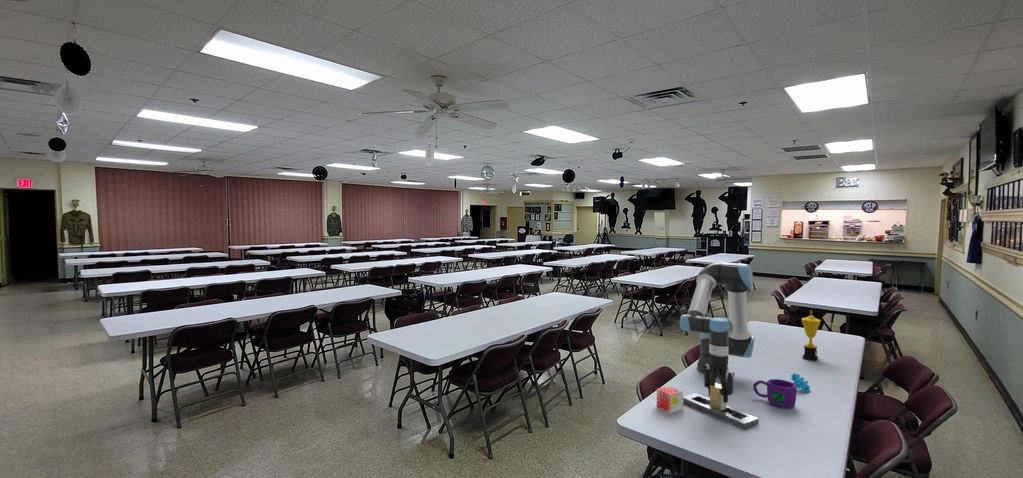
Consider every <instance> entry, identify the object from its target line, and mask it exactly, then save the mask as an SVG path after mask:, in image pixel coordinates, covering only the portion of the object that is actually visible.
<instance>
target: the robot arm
mask: <svg viewBox="0 0 1023 478" xmlns="http://www.w3.org/2000/svg"><path fill="white" fill-rule="evenodd" d="M695 282H696V287H695V289H694V293H693V295H692V299H691V303H690V305H689V309H688V310H687V311H688V312H687V313H686V314H682V315H681V316H680V318H679V327H680V329H681V330H682V331H685V332H690V333H691V332H692V333H699V334H700V337H699V339H700V355H699V358H698V362H697V364H696V370H697V371H699V372H701V371H702V372H701V373H703V372H704V375H703V377H704V378H703V380H704V382H703V383H704V384H703V385H704V387H705V388H707V390H708V398H710V385H712V384H716V381H717V377H718V379H719V381H720V385H721V387H722V393H723V394H721V410H724V409H726V405H727V403H728V402H729V396H731V395H733V393H734V377H735V372H734V371H731V370H729V367H728V365H729V356H734V357H739V358H746V359H747V358H748V359H749V358H752V356H753V352H754V347H755V346H754V345H755V340H756V337H755V336H753V335H752V333H751V331H750V330H749V328H748V300H747V298H748V296H747V292H749V290H750V288H751V287H753V285H754V277H753V270H752V268H751V265H750V264H747V263H746V264H745V263H742V262H741V263H740V262H739V263H734V262H713V263H709V264H707V266H705V267H703V268H702V269H701V270H700V271H699V273H698V275H697V276H696V279H695ZM717 285H718V286H719V285H720V286H723V287H724V290H725V291H726V292H727V299H728V316H729V317H709V316H708V317H707V316H706V314H707V309H708V307H709V303H710V299H711V296H712V292H713V289H714V288H715V287H716V286H717Z"/></svg>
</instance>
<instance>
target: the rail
mask: <svg viewBox="0 0 1023 478" xmlns="http://www.w3.org/2000/svg"><path fill="white" fill-rule="evenodd" d="M683 405H687V406H689V407H691V408H693V409H696V410H698V411H700V412H703V413H705V414H708V415H710V416H712V417H714V418H716V419H718V420H720V421H723V422H725V423H728V424H730V425H733V426H735V427H737V428H739V429H742V430H743V431H745V430H747V429H750V428H752V427H756V426H757V425H759V424H760V421H759V420H760V419H759V417H756V416H755V415H751V414H749V413H747V412H744V411H742V410H739V409H737V408H734V407H732V406H729V405H727V404H726V409H725V410H722V411H719V410H716V409H714V408H712V407H710V397H707V396H704V395H701V394H700V393H696V392H694V393H691V394H687V395H683Z"/></svg>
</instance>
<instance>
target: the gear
mask: <svg viewBox="0 0 1023 478" xmlns="http://www.w3.org/2000/svg"><path fill="white" fill-rule="evenodd" d="M790 377H791V378H790V379H791V381H793V382H792V383H794V384H795V385H796V386H797V389H798V390H800V391H801V392H802V393H806V394H808V393H809V392H811V389H810V388H811V386H810V385H809V380H805V378H804V377H803V376H801V375H800V374H799V373H796V372H793V374H791V375H790Z"/></svg>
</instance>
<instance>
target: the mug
mask: <svg viewBox="0 0 1023 478" xmlns="http://www.w3.org/2000/svg"><path fill="white" fill-rule="evenodd" d="M760 384H761V385H762V384H763V385H764V386H766V394H765V393H761V392H759V390H758V389H757V387H758V386H759V385H760ZM752 388H753V391H754V393H755V394H756V395H757V396H758V397H761V398H767V401H768V402H769V404H770V405H772V406H774V407H777V408H779V409H785V410H786V409H788V410H789V409H792V408H794V407H795V406H796V401H797V389H798V388H797V386H796V385H795V384H794V383H793V382H792V381H789V380H785V379H779V378H771V379H768V380H767V381H764V380H761V379H760V380H757V381H755V382H754V383H753V385H752Z"/></svg>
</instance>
